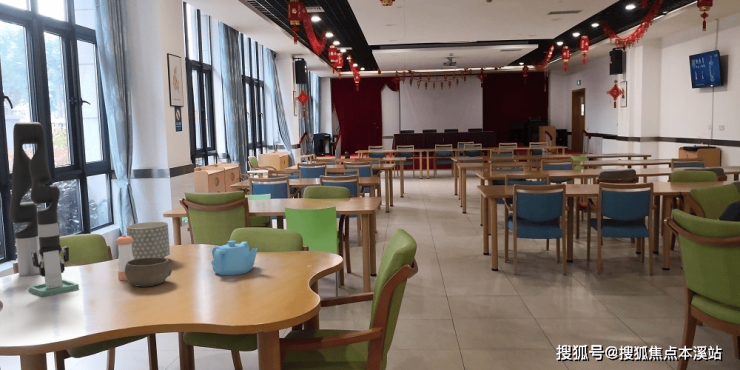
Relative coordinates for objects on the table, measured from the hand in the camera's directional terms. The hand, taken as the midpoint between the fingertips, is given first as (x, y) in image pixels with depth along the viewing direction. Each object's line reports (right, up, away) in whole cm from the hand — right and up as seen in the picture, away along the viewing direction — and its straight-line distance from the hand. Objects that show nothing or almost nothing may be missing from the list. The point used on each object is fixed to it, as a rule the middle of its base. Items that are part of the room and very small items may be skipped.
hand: (52, 274), depth 249 cm
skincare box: (0, -5, +1) cm, 5 cm away
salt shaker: (+24, -4, +17) cm, 30 cm away
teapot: (+70, -2, +22) cm, 73 cm away
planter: (+22, -1, +49) cm, 54 cm away
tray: (0, -7, +1) cm, 7 cm away
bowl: (+38, -5, +5) cm, 38 cm away
